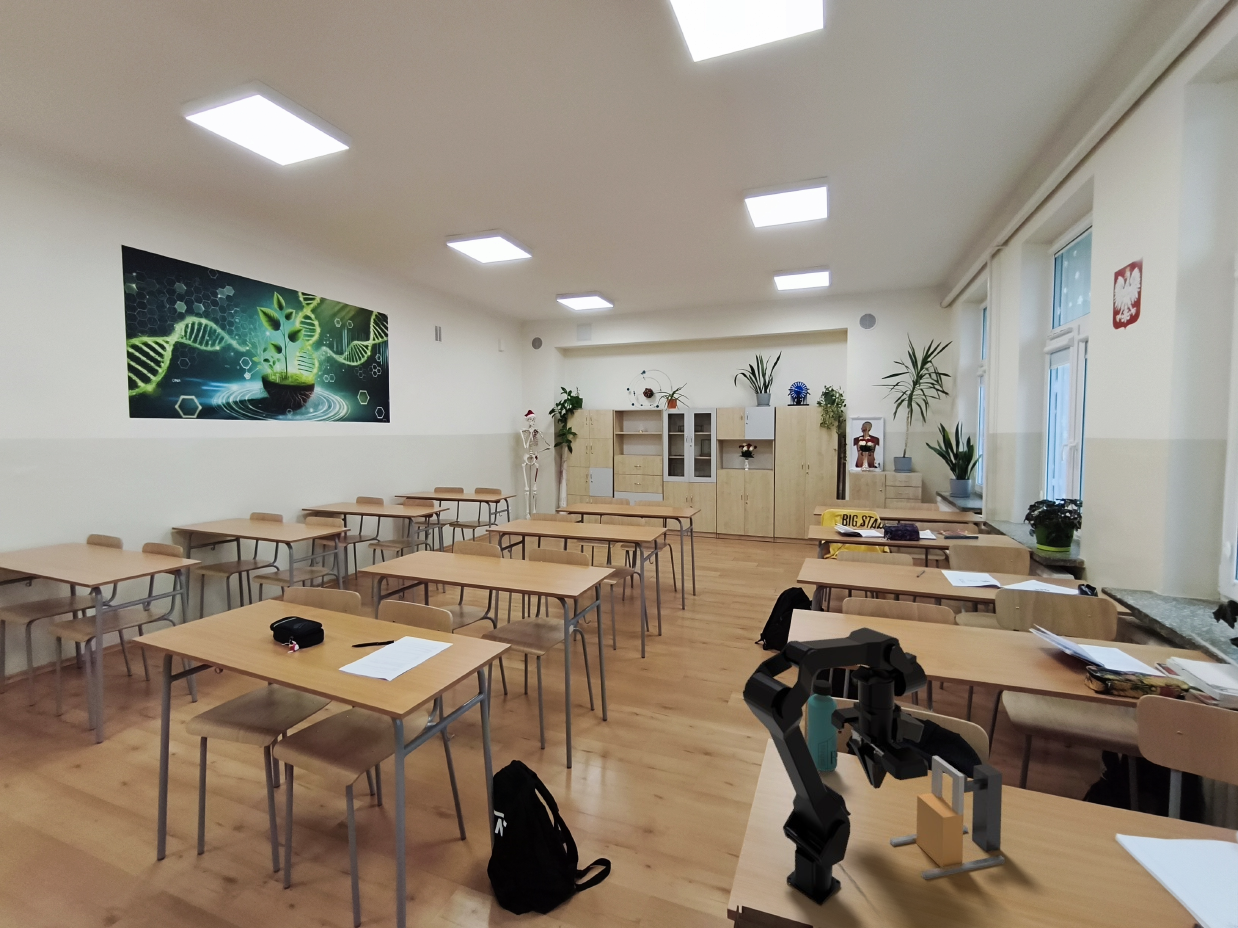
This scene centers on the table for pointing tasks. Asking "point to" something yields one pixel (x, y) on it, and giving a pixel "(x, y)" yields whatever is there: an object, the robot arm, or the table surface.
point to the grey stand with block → (976, 821)
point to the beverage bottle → (822, 727)
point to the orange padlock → (942, 817)
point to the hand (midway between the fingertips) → (875, 786)
